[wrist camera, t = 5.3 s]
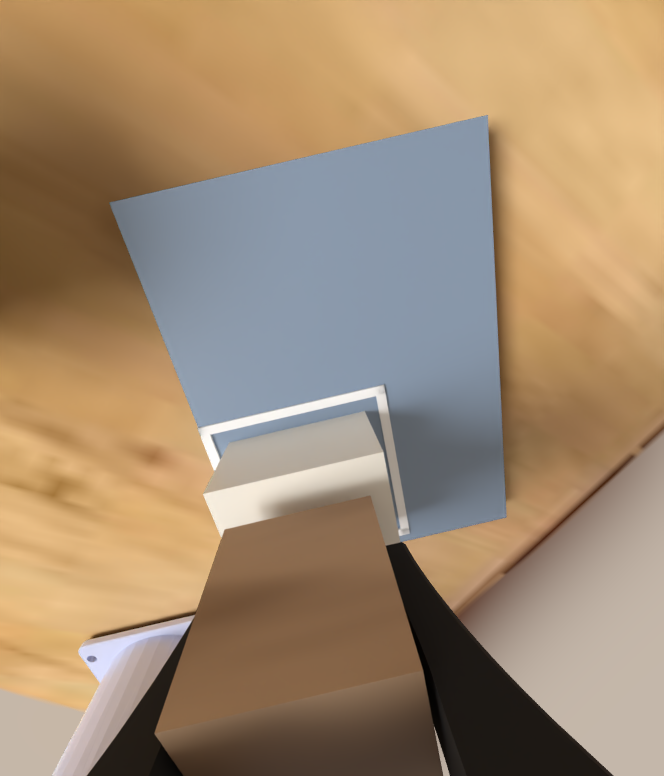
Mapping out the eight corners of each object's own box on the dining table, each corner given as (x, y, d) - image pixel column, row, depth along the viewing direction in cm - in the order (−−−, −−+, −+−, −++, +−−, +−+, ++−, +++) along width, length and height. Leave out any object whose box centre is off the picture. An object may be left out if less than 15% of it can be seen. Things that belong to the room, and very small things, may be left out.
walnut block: (393, 601, 11) (449, 807, 6) (266, 630, 11) (239, 856, 6) (370, 495, 9) (423, 670, 5) (224, 529, 9) (154, 733, 5)
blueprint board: (495, 504, 17) (507, 518, 16) (260, 559, 17) (256, 577, 16) (472, 129, 11) (489, 113, 10) (125, 209, 11) (107, 201, 10)
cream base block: (386, 520, 15) (408, 585, 12) (267, 548, 15) (256, 621, 12) (364, 411, 13) (383, 452, 10) (229, 442, 13) (202, 493, 10)
